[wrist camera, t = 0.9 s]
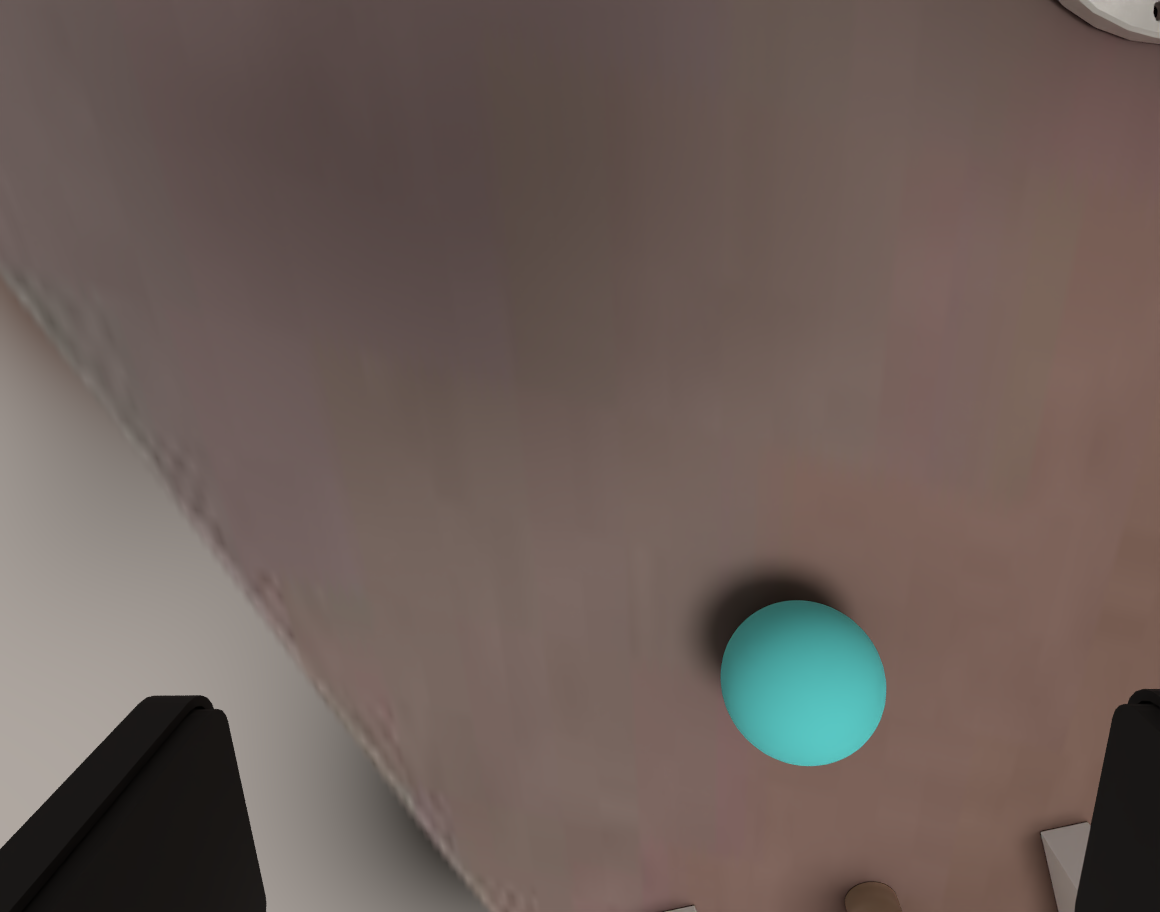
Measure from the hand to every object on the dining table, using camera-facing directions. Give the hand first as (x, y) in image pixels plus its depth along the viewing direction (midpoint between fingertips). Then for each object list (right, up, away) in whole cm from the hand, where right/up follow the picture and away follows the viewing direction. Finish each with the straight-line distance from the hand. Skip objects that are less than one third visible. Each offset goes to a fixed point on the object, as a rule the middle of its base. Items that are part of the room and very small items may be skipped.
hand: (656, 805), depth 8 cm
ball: (+8, -5, +21) cm, 23 cm away
